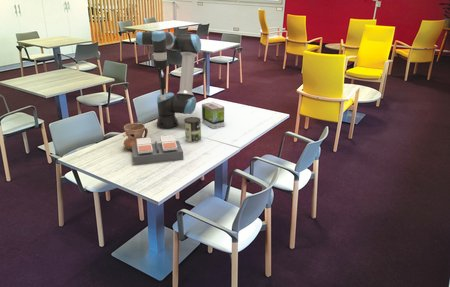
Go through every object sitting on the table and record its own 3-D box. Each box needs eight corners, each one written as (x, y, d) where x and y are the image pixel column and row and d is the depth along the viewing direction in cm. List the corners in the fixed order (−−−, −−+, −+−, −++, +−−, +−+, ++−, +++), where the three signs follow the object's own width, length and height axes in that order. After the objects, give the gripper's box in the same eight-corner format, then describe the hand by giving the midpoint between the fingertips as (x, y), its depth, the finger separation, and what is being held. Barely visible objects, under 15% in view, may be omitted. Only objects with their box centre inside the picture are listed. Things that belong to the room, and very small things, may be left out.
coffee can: (202, 137, 243) (202, 117, 238) (198, 143, 234) (198, 122, 229) (187, 136, 245) (187, 116, 240) (183, 142, 236) (182, 121, 230)
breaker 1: (136, 141, 217) (136, 138, 216) (150, 139, 219) (150, 136, 218) (137, 154, 206) (137, 151, 205) (153, 152, 208) (152, 149, 207)
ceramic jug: (131, 155, 219) (129, 133, 213) (117, 148, 227) (115, 126, 222) (155, 146, 231) (154, 125, 225) (141, 140, 240) (140, 119, 234)
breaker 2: (160, 138, 221) (159, 135, 220) (174, 137, 223) (173, 134, 222) (163, 151, 209) (162, 148, 208) (177, 149, 211) (177, 146, 210)
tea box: (224, 126, 262) (224, 106, 256) (212, 129, 256) (212, 109, 250) (213, 120, 273) (213, 101, 267) (201, 123, 268) (201, 103, 262)
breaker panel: (132, 153, 221) (131, 142, 218) (179, 148, 227) (178, 137, 225) (134, 165, 207) (132, 154, 204) (183, 159, 213) (182, 148, 210)
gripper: (152, 57, 214) (155, 96, 224) (154, 62, 202) (158, 103, 212) (165, 56, 216) (168, 95, 225) (168, 61, 204) (171, 101, 214)
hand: (163, 99), depth 219 cm, fingers closed
